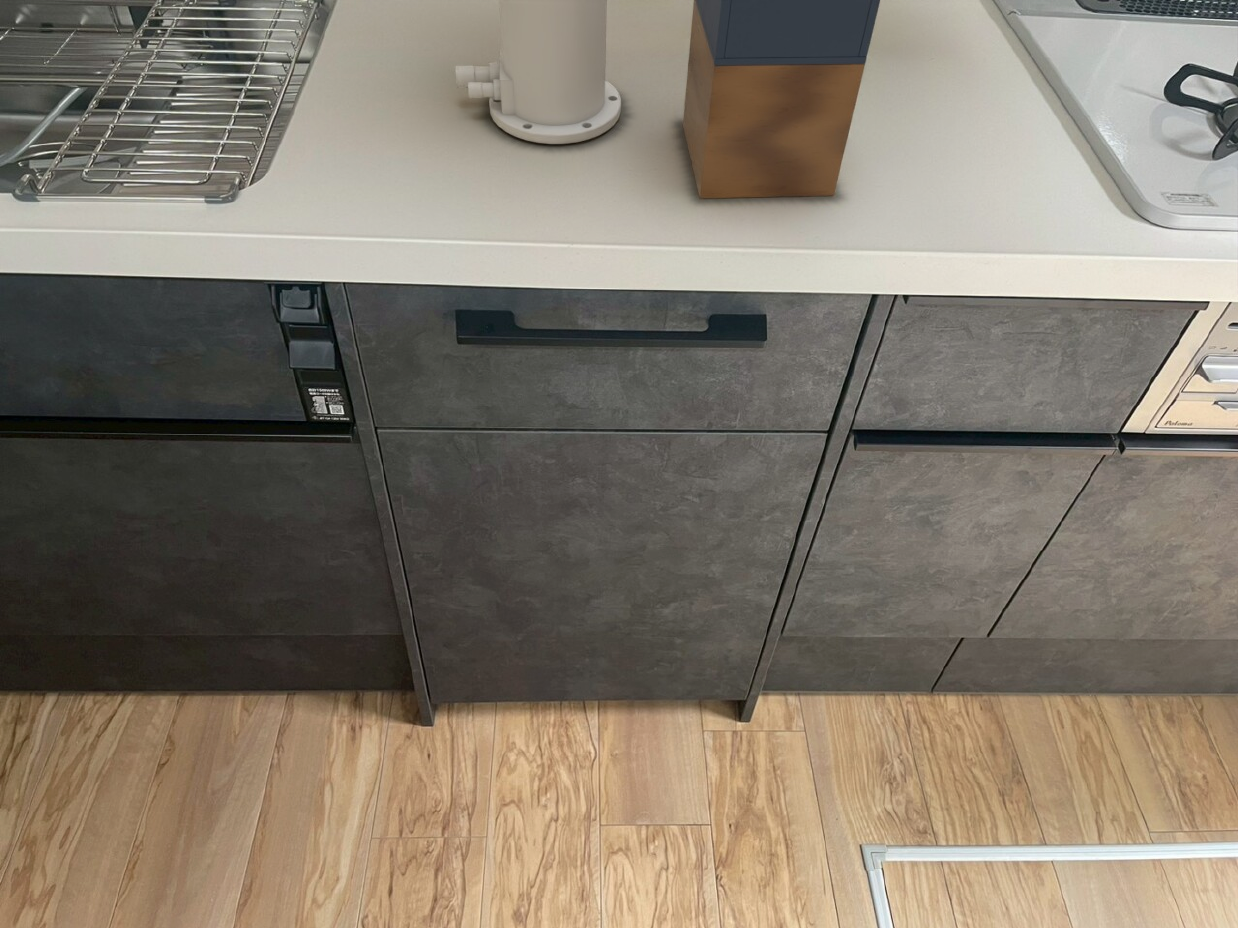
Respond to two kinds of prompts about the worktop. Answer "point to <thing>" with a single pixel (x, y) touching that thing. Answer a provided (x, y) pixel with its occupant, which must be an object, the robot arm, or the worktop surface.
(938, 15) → the worktop surface
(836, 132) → the stand
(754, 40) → the slate grey square cap
